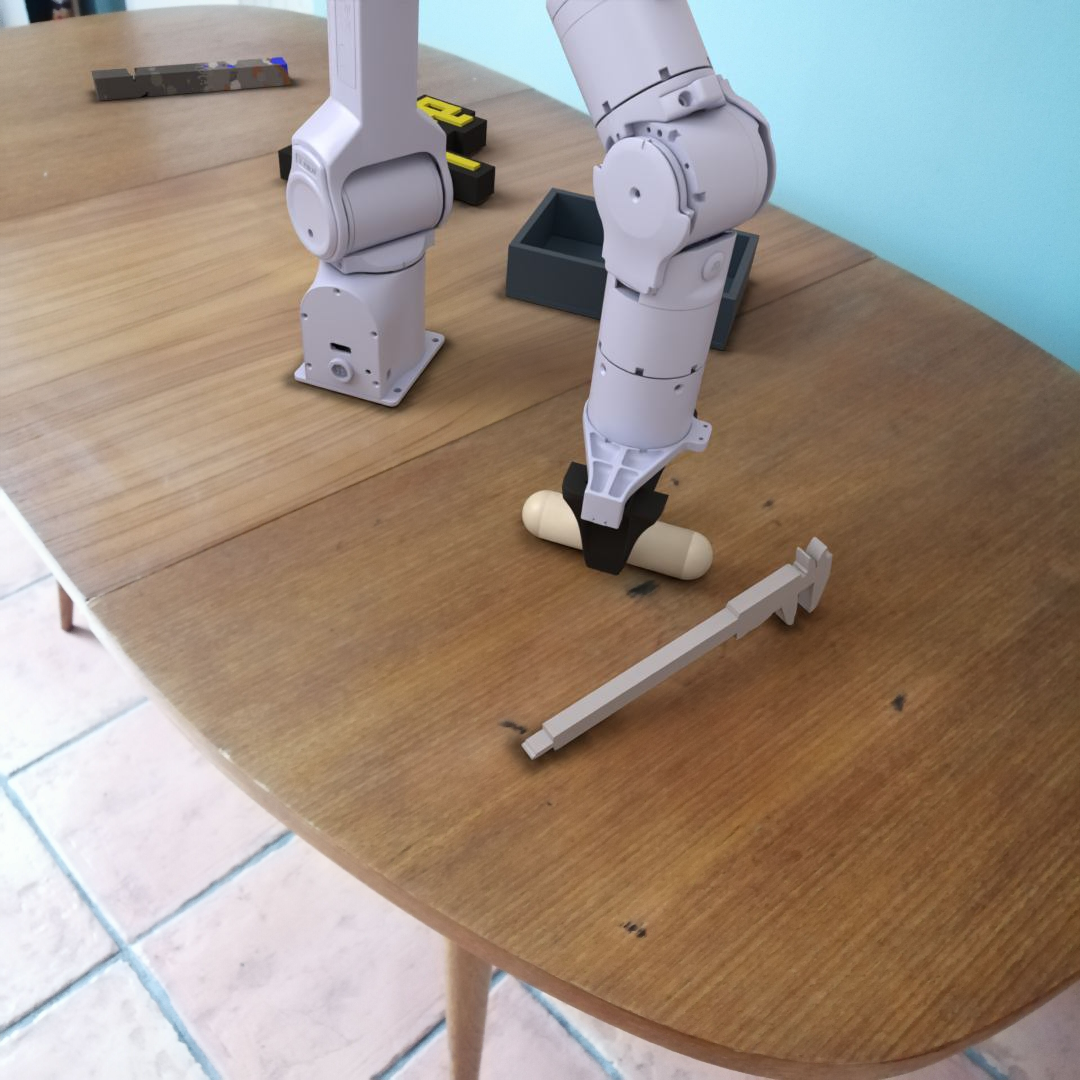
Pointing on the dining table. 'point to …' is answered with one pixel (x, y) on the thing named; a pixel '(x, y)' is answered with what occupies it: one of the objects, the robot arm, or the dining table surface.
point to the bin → (594, 261)
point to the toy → (447, 149)
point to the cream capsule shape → (653, 549)
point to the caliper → (695, 645)
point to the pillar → (190, 78)
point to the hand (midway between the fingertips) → (616, 535)
